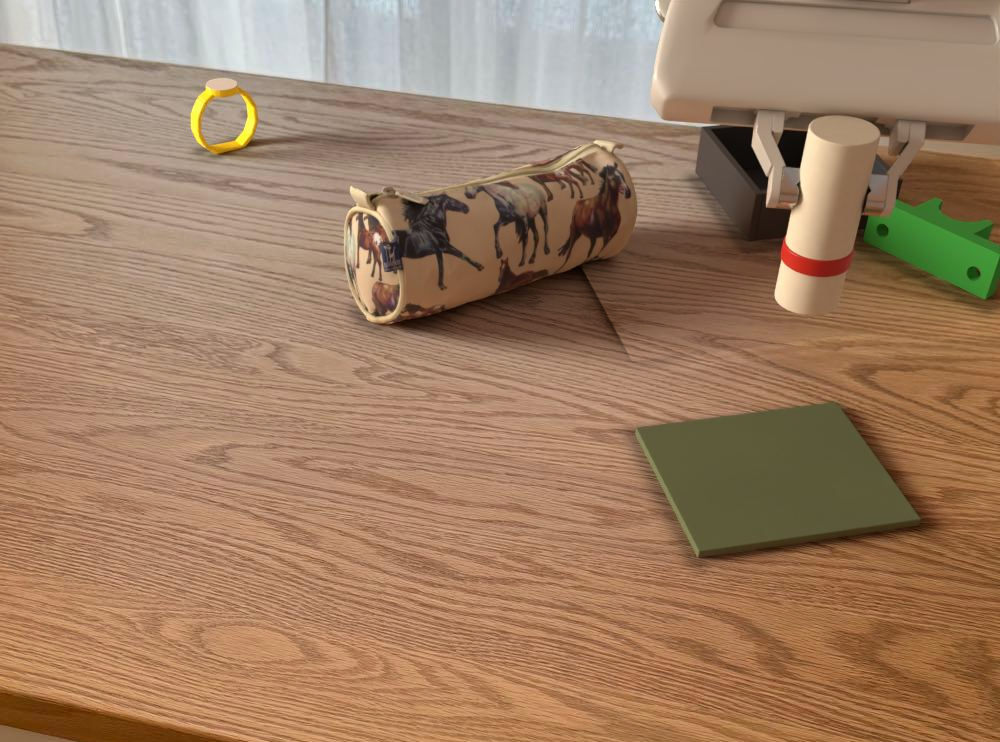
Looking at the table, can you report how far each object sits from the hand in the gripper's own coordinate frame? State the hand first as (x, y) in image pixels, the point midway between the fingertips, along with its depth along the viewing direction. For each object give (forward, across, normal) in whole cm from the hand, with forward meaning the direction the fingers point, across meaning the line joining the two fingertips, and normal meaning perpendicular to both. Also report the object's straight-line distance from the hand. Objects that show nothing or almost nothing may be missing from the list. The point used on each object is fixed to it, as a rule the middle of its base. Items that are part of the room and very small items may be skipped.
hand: (829, 209), depth 66 cm
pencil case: (-1, -20, +27) cm, 34 cm away
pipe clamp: (-6, +13, +32) cm, 35 cm away
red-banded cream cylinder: (+4, 0, +5) cm, 6 cm away
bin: (-12, +2, +38) cm, 40 cm away
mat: (+13, 0, +12) cm, 18 cm away
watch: (-14, -47, +40) cm, 63 cm away
